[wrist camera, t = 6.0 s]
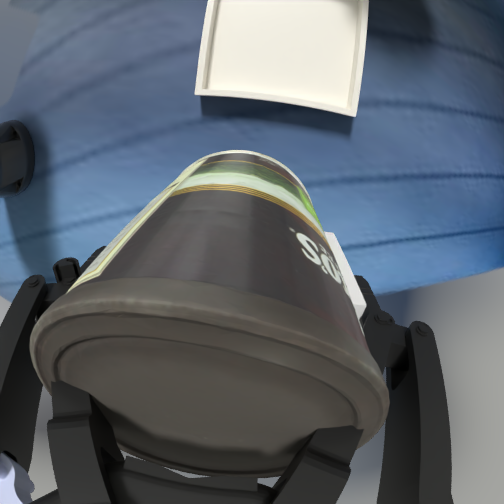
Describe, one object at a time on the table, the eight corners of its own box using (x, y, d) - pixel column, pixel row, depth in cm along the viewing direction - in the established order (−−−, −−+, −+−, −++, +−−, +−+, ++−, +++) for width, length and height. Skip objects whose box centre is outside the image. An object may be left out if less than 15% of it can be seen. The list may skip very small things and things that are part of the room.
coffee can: (291, 127, 15) (409, 224, 3) (326, 268, 20) (377, 460, 8) (139, 180, 17) (-19, 327, 5) (197, 299, 22) (153, 472, 9)
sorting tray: (200, 95, 32) (194, 94, 29) (218, -26, 22) (215, -34, 19) (348, 116, 32) (355, 117, 30) (362, -4, 22) (369, -11, 20)
